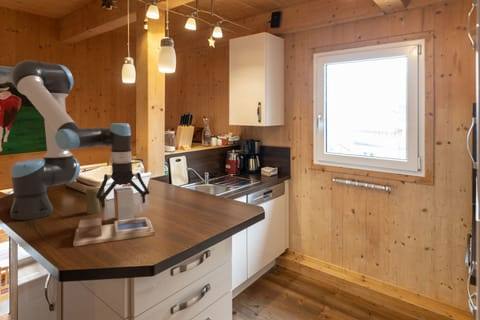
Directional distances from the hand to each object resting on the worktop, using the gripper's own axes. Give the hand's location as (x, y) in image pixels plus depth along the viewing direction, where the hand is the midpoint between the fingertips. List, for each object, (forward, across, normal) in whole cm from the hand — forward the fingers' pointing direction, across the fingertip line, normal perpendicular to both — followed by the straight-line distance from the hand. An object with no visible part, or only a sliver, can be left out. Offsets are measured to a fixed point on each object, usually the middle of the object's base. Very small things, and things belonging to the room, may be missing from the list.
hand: (124, 212), depth 128 cm
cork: (+3, -12, +15) cm, 19 cm away
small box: (+3, 0, 0) cm, 3 cm away
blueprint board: (+3, -4, -15) cm, 16 cm away
